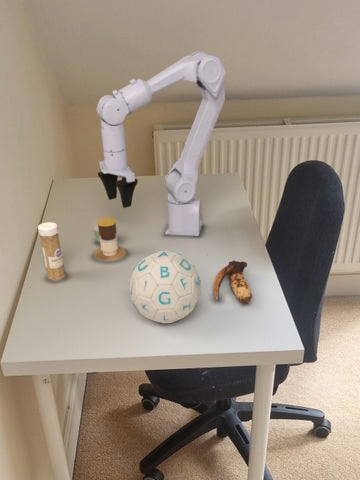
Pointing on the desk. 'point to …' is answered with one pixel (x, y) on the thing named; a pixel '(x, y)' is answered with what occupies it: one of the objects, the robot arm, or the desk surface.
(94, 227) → the cylinder
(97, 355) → the desk surface
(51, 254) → the sprinkles bottle
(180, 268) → the puzzle ball
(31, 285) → the desk surface
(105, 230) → the brown pod
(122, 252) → the coaster
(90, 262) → the desk surface
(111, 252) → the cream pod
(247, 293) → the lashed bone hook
